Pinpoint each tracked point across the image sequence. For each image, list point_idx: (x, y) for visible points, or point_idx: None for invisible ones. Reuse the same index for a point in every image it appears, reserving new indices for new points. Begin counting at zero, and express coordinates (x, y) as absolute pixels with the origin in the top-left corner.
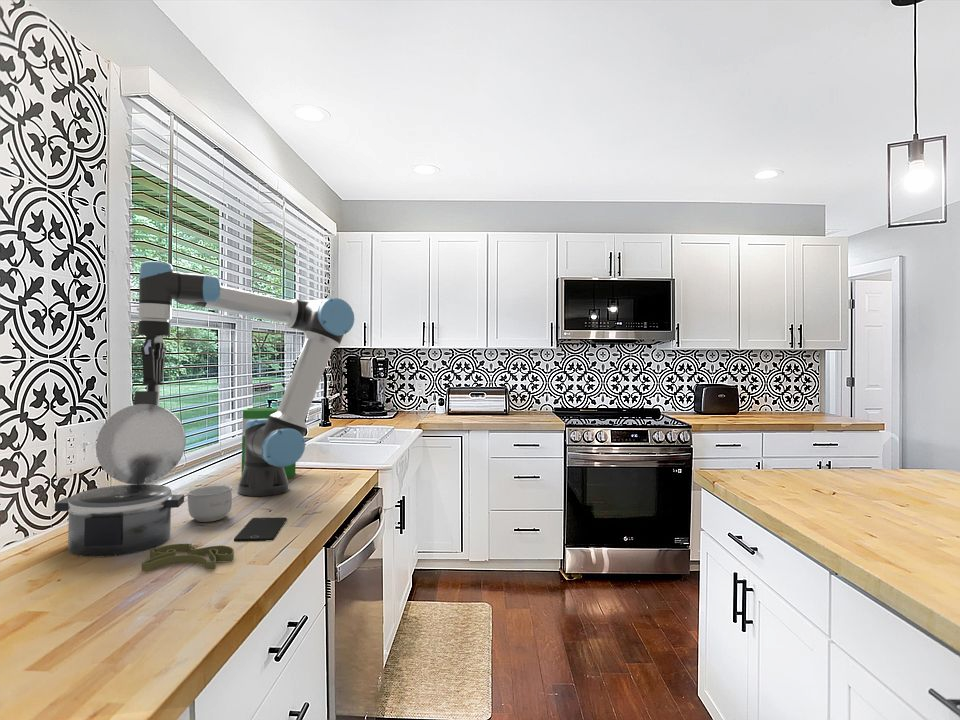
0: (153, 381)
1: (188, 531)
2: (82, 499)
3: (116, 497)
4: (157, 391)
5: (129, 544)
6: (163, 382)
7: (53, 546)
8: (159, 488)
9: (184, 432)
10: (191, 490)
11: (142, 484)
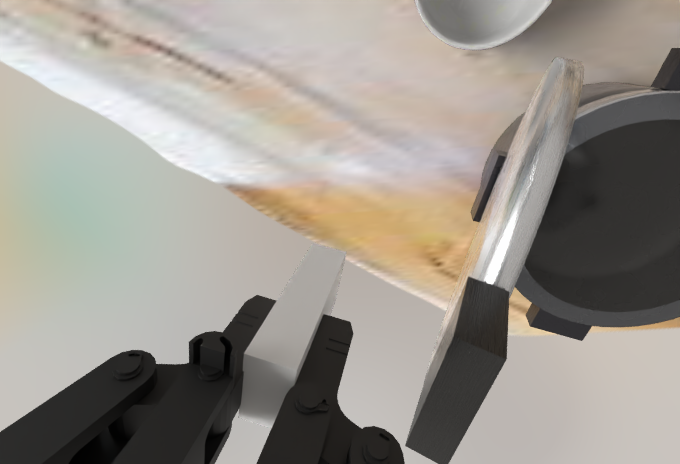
0: (401, 454)
1: (581, 38)
2: (643, 304)
3: (676, 238)
4: (314, 330)
5: None
6: (194, 341)
7: None
8: (614, 132)
9: (563, 66)
10: (444, 37)
11: None
